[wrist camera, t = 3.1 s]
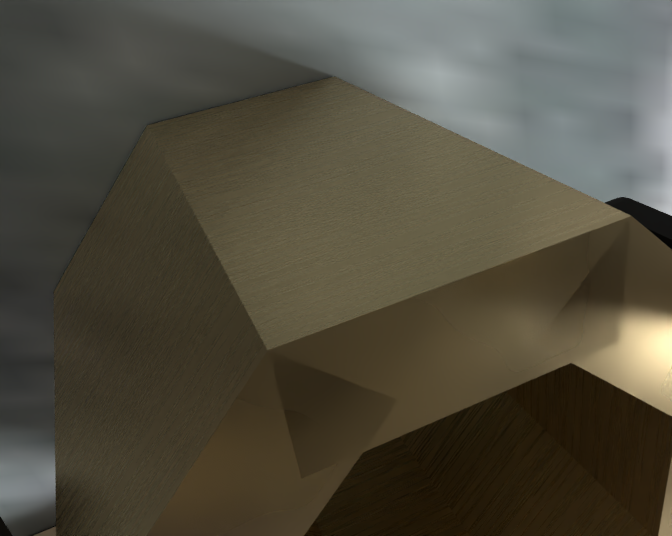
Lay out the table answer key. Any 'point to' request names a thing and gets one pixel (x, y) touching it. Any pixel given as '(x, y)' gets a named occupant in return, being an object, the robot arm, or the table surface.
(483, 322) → the brass ring
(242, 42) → the table surface
